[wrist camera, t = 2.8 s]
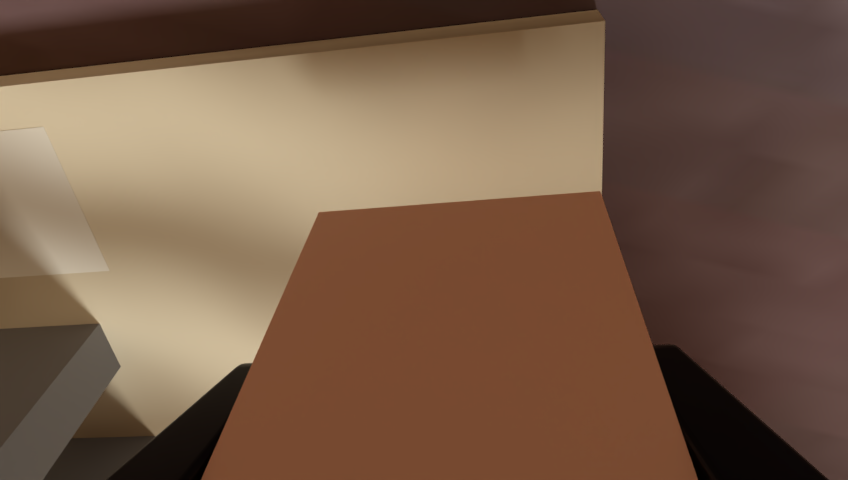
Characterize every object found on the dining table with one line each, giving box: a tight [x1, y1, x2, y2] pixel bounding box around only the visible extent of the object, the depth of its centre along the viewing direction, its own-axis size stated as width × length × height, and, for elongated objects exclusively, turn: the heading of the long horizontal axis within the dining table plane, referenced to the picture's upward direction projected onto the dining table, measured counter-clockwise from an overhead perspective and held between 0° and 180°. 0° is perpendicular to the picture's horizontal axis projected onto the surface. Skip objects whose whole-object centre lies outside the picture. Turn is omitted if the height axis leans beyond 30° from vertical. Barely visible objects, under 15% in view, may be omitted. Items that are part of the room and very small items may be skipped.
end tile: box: [201, 191, 698, 480], centre depth 8 cm, size 2×5×8 cm, turn 97°
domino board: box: [0, 10, 605, 438], centre depth 21 cm, size 24×22×1 cm
